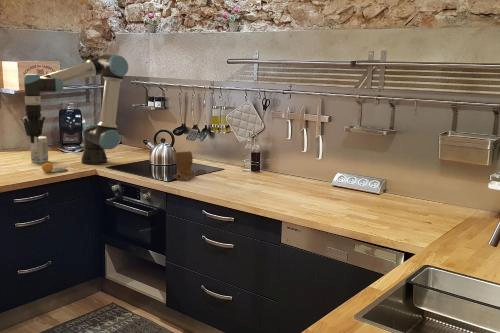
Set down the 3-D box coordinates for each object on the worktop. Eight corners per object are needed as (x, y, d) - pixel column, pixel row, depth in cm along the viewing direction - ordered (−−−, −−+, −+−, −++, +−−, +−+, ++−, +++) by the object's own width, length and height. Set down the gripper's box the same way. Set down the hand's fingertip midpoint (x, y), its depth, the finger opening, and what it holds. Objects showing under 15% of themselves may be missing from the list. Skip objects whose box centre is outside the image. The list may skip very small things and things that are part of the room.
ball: (38, 167, 281) (43, 175, 284) (48, 166, 280) (52, 173, 283) (42, 161, 285) (46, 168, 288) (51, 159, 284) (56, 167, 287)
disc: (66, 167, 298) (66, 167, 298) (69, 172, 288) (69, 171, 288) (43, 169, 293) (43, 168, 293) (46, 173, 282) (46, 173, 282)
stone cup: (181, 174, 295) (181, 148, 292) (199, 177, 290) (200, 150, 287) (166, 179, 281) (167, 152, 278) (186, 182, 277) (186, 154, 274)
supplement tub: (45, 159, 318) (44, 135, 315) (50, 162, 311) (49, 137, 308) (28, 161, 312) (27, 136, 309) (33, 163, 305) (32, 138, 302)
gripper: (26, 105, 264) (28, 151, 268) (48, 104, 275) (49, 148, 279) (17, 104, 267) (19, 149, 272) (38, 103, 278) (40, 146, 283)
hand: (34, 148), depth 276 cm, fingers closed
